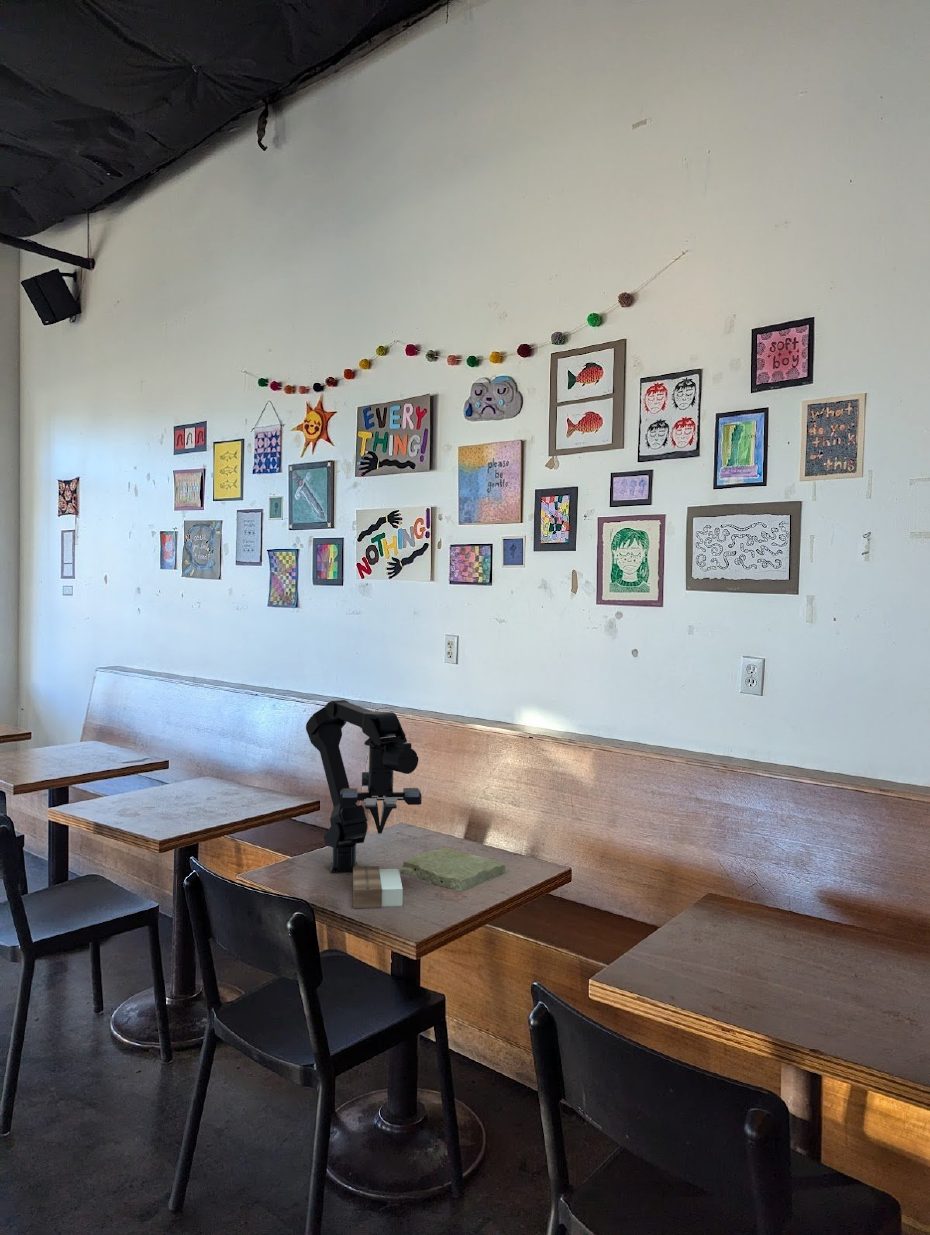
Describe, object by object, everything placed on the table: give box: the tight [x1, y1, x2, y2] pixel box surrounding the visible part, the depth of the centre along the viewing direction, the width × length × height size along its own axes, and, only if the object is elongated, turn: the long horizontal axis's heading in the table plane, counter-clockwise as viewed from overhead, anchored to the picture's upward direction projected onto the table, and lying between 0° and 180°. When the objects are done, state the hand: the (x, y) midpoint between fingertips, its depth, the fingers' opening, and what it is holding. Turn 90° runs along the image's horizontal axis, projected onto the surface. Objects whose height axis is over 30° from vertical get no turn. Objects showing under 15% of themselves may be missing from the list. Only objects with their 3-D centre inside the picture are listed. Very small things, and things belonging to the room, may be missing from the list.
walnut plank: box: [352, 865, 382, 909], centre depth 193 cm, size 16×6×4 cm, turn 8°
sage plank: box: [379, 868, 404, 908], centre depth 193 cm, size 14×4×4 cm, turn 8°
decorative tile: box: [400, 847, 507, 892], centre depth 209 cm, size 19×20×4 cm
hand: (379, 833), depth 200 cm, fingers closed
